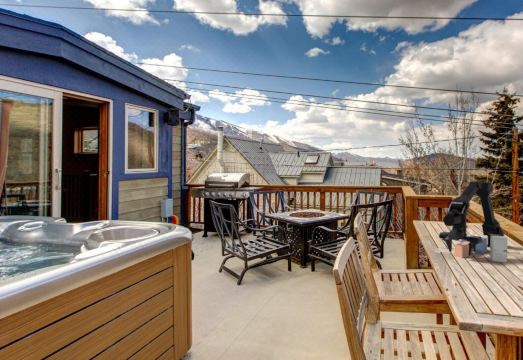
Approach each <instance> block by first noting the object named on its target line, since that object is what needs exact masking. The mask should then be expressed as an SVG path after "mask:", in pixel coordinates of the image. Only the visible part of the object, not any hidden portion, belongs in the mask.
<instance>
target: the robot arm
mask: <svg viewBox="0 0 523 360" xmlns="http://www.w3.org/2000/svg"><path fill="white" fill-rule="evenodd" d="M493 192H494V186H493V183H491V182H489V181H480V180H471V181H469V182H468V185H467V187H466V188H465V189H464V190H463V192H462V193H461V195H459V196H456V197H454V198H453V199H452V201H451V202H450V204H449V207H448V209H447V213H446V215H445V216H444V217H443V219H442V222H443V224H444V225H445V226H446V227H451V230H450V231H442V232H440V233H439V234H438V238H439V239H441V240H442V241H444V242H445V244H446V246H447V248H448V251H449V253H452V252H453V251H452V250H453V241H456V242H457V241H460V240H461V239H462V240H469V242H470V243H468V244H469V255H468V257H470V256H471V255H472V254H471V253H472V251H473V252H474V250H473V249H474V247H475V246H476V244H479V243H481V242H482V238H483V237H482V236H479V235H470V236H471V237H467V235H468V233H467V228H468V225H467V215H469V213H468V212H467V211H468V210H469V209H470V207H471V205H470V204H471V203H470V201H471V200H472V199H473V197H474V196H475V195H476V196H477V197H478V198H479V199H480V204H481V209H482V214H483V218H484V221H483V223H482V224H481V228H482V229H481V230H482V233H483V236H487V237H486V238H487V248H490V236H491V235H492V236H505V232H504V230H503V228H502V227H501V224H500V221H498V220H497V219H496V217H495V213H494V208H493V204H492V198H491V197H492V196H491V195H492V194H493ZM481 237H482V238H481Z"/></svg>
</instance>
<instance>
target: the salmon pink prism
mask: <svg viewBox="0 0 523 360" xmlns="http://www.w3.org/2000/svg"><path fill="white" fill-rule="evenodd" d="M468 243H470V242H467V241H465V242H463V243H461V242H460V243H457V244H455V245H454V256H455V257H456V258H460V257H461V259H462V258H463V259H464V258H466V257H469V244H468ZM473 254H474V250H473V251H472V253H471V255H473Z"/></svg>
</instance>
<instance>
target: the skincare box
mask: <svg viewBox="0 0 523 360" xmlns="http://www.w3.org/2000/svg"><path fill="white" fill-rule="evenodd" d="M489 260H490V261H492V262H500V263H501V262H502V263H507V262H508V237H507V236H505V235H504V236H492V235H491V236H490V247H489Z"/></svg>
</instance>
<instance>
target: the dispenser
mask: <svg viewBox="0 0 523 360" xmlns="http://www.w3.org/2000/svg"><path fill="white" fill-rule="evenodd" d="M471 236H472V235H468V234H467V237H471ZM480 237H481V238H482V242H481V243H479V244H476V246H475V247H474V249H473V251H475V254H479V255H483V254H485V253H487V251H488V247H487V237H482V236H480ZM465 241H467V242H469V240H462V239H460V243H463V242H465Z"/></svg>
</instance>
